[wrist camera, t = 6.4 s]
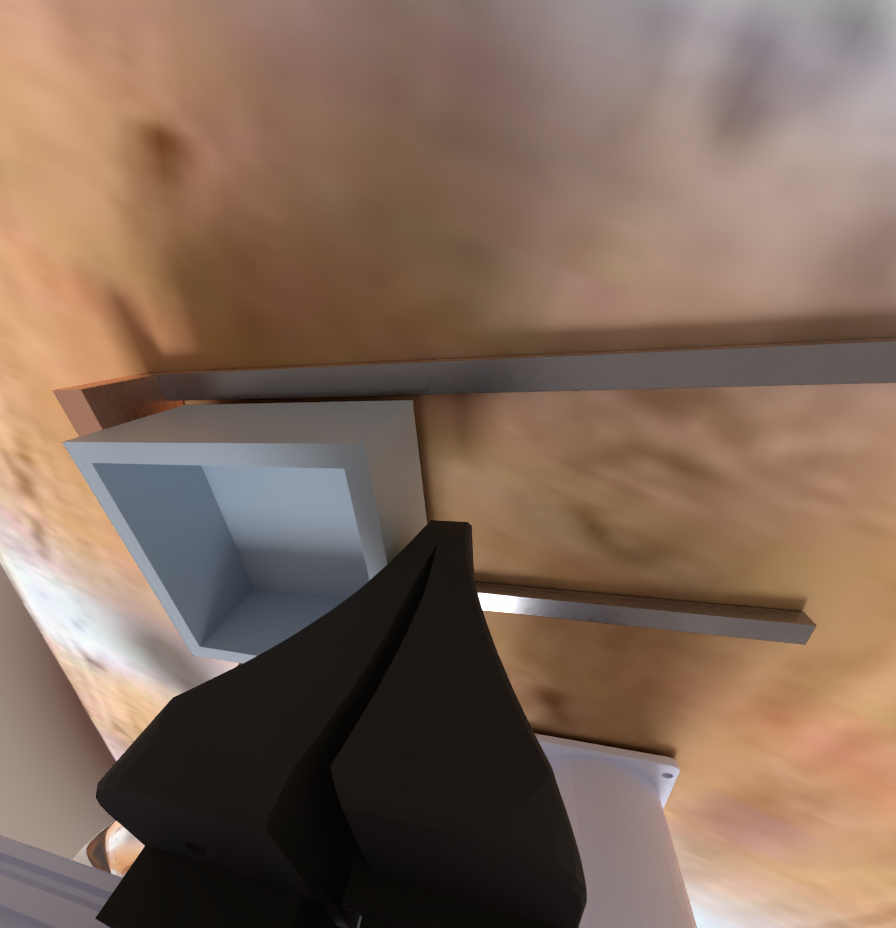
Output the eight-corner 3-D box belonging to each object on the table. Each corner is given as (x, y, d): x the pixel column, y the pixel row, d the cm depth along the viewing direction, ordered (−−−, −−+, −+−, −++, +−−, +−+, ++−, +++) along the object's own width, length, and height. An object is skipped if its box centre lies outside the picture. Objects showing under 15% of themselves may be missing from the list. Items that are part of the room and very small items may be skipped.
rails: (793, 630, 13) (866, 717, 10) (237, 574, 18) (187, 622, 15) (955, 334, 8) (1168, 350, 5) (146, 373, 13) (52, 390, 10)
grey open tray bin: (441, 583, 15) (411, 691, 11) (273, 568, 16) (192, 655, 12) (421, 392, 11) (364, 444, 7) (207, 398, 13) (62, 442, 9)
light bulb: (180, 694, 26) (-60, 971, 15) (255, 705, 24) (46, 1024, 13) (218, 743, 28) (39, 1006, 18) (287, 756, 27) (136, 1053, 16)
